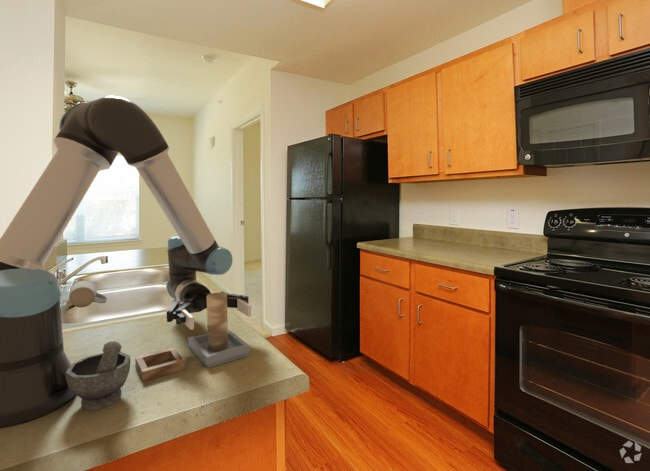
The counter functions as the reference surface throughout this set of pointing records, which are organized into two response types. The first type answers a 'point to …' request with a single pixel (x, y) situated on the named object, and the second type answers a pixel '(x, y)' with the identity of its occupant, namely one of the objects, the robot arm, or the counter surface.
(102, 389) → the mortar and pestle
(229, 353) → the tray
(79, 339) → the counter surface
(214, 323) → the dowel
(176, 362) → the socket block
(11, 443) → the counter surface
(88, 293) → the ceramic mug
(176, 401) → the counter surface
